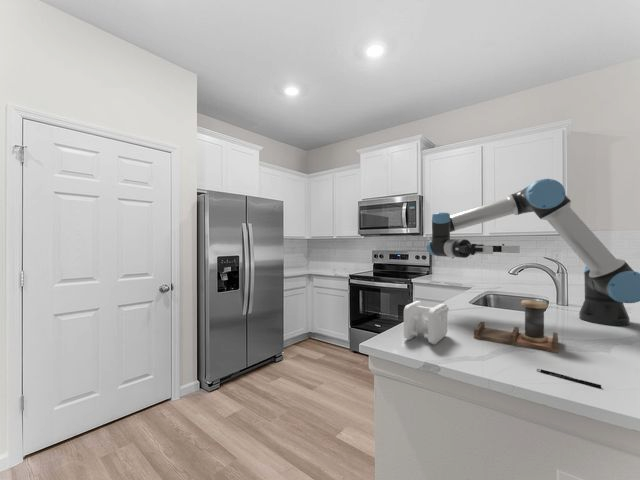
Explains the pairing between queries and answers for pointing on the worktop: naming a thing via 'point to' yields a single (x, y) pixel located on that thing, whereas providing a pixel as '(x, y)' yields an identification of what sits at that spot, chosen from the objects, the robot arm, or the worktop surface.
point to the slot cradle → (514, 338)
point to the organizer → (425, 321)
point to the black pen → (569, 378)
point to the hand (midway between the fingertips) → (506, 249)
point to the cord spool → (534, 321)
